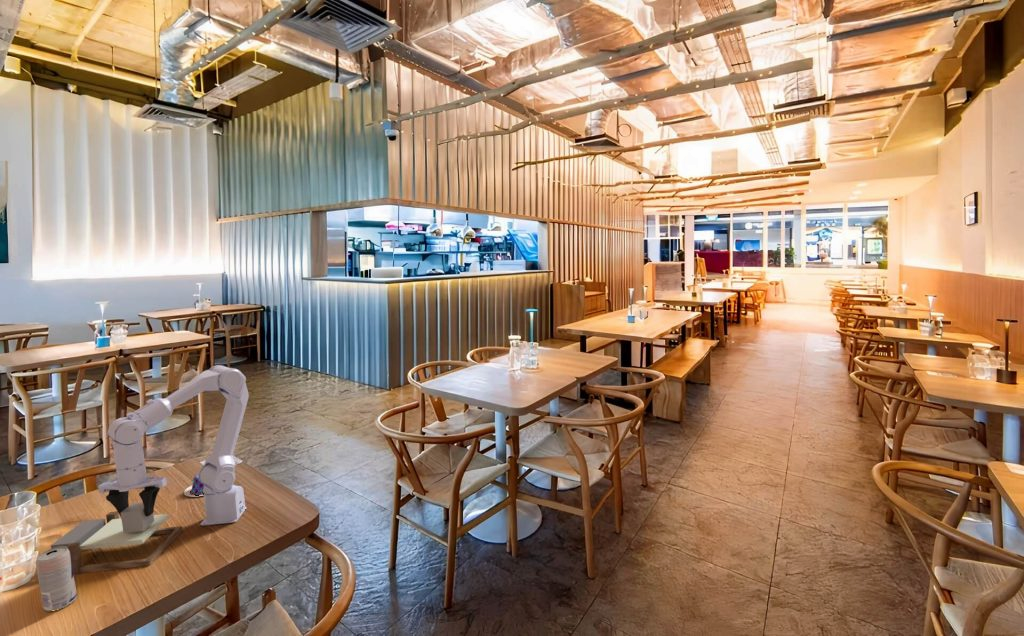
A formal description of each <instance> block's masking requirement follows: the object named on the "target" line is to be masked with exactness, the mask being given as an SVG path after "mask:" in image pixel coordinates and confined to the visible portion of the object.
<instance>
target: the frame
mask: <svg viewBox="0 0 1024 636" xmlns="http://www.w3.org/2000/svg"><path fill="white" fill-rule="evenodd" d="M105 517H106V519H105V520H106V524H107V523H108V522H110V521H111V520H112V519H120V515H119V513H118V511H117V510H116V511H109V512H108V513H107V514H106V515H105ZM182 532H183V526H182V525H180V526H171V527H169V526H168V527H162V528H161V527H159V528H158V529H157V530H156V531H155V532H154V533H153V534H152V535H151V536H155V535H164V534H169V535H168V536H167V538H166V539H165V540H164V541H163V542H161V544H159V546H158V547H157V548H156V549H155V550H154V551H153V552H152V553H151V554H150V555H149V556H148V557H147V558H141V559H132V560H123V561H121V560H120V561H112V562H104V563H95V564H87V565H84V563H83V557H82V550H80V543H79V542H78V543H70V544H68V545H67V546H66V547H67V548H68V550H69V551H70V557H71V563H72V569H73V575H79V574H81V573H82V574H84V573H91V572H92V573H93V572H103V571H108V570H110V571H111V570H118V569H128V568H135V567H144V566H151V564H153V563H154V562H155V561H156V559H158V558H159V556H160V555H161V554H162V553H163V552H164V551H165V550H166V548H167V547H168V546H170V544H172V542H173V541H174V540H175V539H176V538H177V537H178V536H179V534H181V533H182Z"/></svg>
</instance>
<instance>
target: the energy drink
mask: <svg viewBox="0 0 1024 636" xmlns="http://www.w3.org/2000/svg"><path fill="white" fill-rule="evenodd" d="M35 568H36V573H37V578H38V584H39V590H40V595H41V602H42V607H43V610H44V611H45V610H46V611H45V612H47V611H52V610H57V609H60V610H62V609H61V608H63V609H65V608H66V607H65V606H67V605H69V604H70V605H72V604H73V603H72V602H73V601H74V600H76V599H77V597H78V596H77V587H76V582H75V578H74V577H75V574H73V569H72V563H71V557H70V551H69V550H68V548H67V547H65V546H61V547H56V548H52V549H51V548H49V549H46V550H45V551H42V552H41V553H40V554H38V555H37V556H36V560H35ZM74 602H75V601H74ZM70 605H69V606H70ZM64 607H65V608H64ZM67 607H68V606H67ZM57 611H58V610H57Z"/></svg>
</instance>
